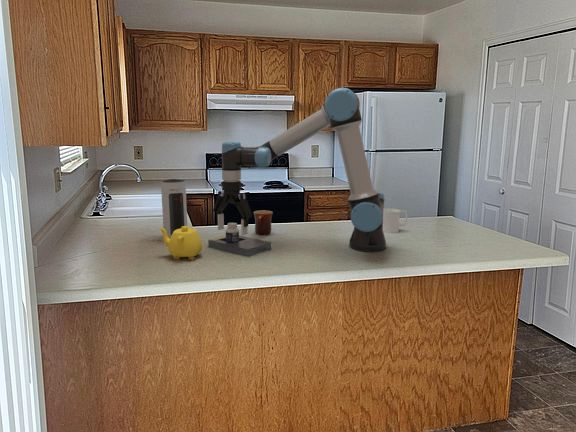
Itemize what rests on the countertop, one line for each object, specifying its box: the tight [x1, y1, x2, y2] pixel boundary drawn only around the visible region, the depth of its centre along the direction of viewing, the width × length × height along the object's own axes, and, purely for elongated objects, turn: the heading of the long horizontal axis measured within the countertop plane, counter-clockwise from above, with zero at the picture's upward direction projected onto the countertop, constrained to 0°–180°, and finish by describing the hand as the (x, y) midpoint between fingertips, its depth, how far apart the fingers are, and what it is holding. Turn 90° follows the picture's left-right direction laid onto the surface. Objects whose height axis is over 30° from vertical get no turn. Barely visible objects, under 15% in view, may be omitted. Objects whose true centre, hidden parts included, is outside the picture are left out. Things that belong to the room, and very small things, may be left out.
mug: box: [253, 209, 274, 236], centre depth 220 cm, size 12×9×10 cm
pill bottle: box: [225, 222, 240, 243], centre depth 200 cm, size 5×5×10 cm
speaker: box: [160, 178, 188, 239], centre depth 210 cm, size 11×10×26 cm
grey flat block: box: [207, 234, 272, 258], centre depth 198 cm, size 22×14×3 cm, turn 51°
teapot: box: [158, 225, 203, 261], centre depth 185 cm, size 14×14×12 cm
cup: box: [383, 208, 408, 234], centre depth 230 cm, size 8×12×10 cm
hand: (232, 231), depth 200 cm, fingers open, 13 cm apart
